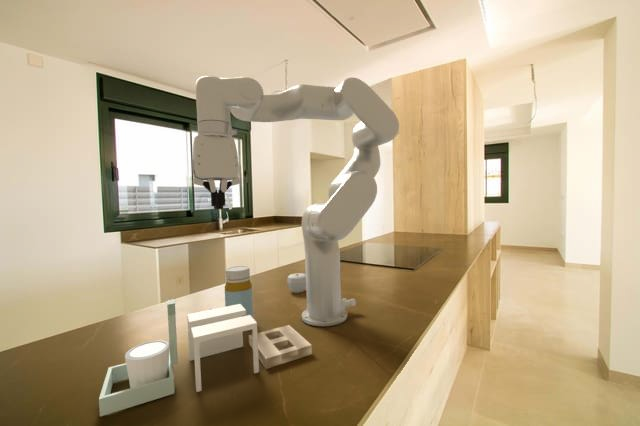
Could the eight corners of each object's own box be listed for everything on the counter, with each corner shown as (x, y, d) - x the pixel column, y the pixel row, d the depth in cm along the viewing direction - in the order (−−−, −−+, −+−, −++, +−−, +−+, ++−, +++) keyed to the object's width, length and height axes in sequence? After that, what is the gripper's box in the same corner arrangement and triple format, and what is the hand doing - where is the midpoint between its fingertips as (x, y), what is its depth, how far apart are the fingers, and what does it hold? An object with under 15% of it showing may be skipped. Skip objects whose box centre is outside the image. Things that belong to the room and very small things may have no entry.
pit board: (289, 333, 72) (289, 324, 72) (312, 354, 61) (311, 344, 61) (249, 343, 67) (248, 335, 67) (266, 368, 56) (265, 358, 56)
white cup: (156, 401, 48) (153, 359, 48) (117, 400, 49) (114, 359, 48) (179, 376, 55) (177, 339, 55) (145, 375, 55) (142, 339, 55)
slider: (176, 363, 59) (173, 294, 58) (180, 391, 50) (176, 309, 49) (109, 381, 53) (104, 305, 53) (99, 416, 44) (94, 324, 44)
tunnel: (242, 345, 66) (240, 303, 66) (259, 372, 55) (256, 322, 55) (189, 359, 61) (187, 314, 61) (196, 392, 50) (193, 337, 50)
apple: (313, 290, 106) (312, 272, 106) (300, 296, 100) (299, 277, 99) (295, 287, 111) (295, 270, 110) (282, 293, 104) (281, 275, 104)
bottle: (258, 320, 80) (255, 266, 80) (243, 331, 74) (241, 272, 73) (236, 317, 83) (234, 265, 82) (220, 328, 76) (218, 271, 75)
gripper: (242, 138, 76) (245, 208, 77) (179, 133, 69) (183, 210, 70) (250, 131, 70) (253, 208, 71) (181, 125, 63) (186, 210, 63)
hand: (218, 209), depth 70 cm, fingers closed
